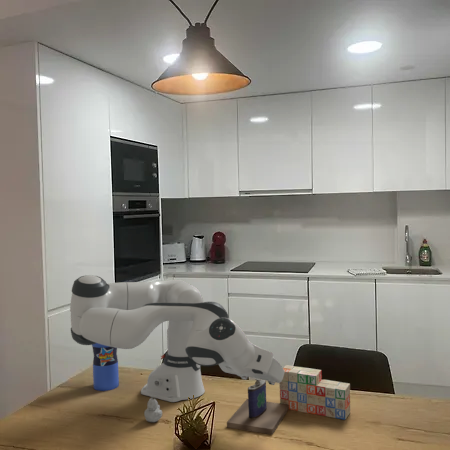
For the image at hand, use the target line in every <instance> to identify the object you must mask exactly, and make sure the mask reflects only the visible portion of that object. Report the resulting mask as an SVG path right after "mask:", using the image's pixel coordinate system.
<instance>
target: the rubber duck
mask: <svg viewBox="0 0 450 450" xmlns="http://www.w3.org/2000/svg"><path fill="white" fill-rule="evenodd" d="M146 405H147V408H146V409H145V410H144V415H143V416H144V418H145V421H146V422H148V423H156V422H159V420H160V419H161V418H162V417H163V410H162V409H161V405H160V404H159V402H158V401H157V398H154V397H150V398H149V400H148V401H147V404H146Z"/></svg>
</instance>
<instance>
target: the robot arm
mask: <svg viewBox="0 0 450 450" xmlns="http://www.w3.org/2000/svg"><path fill="white" fill-rule="evenodd" d="M71 293H72V294H71V297H70V298H71V299H70V306H69V308H70V309H69V311H70V323H71V324H70V326H71V327H70V335H71V338H72V340H73V341H74V342H75V343H77V344H79V345H83V346H92V345H93V344H96V343H98V344H102V345H105V346H110V347H115V348H117V349H121V350H131V349H135V348H137V347H139V346H140V345H141V344H143V343H144V342H145V341H146V340H147V338H148V337H149V336H150V335H151V333H152V332H153V331H154V330H155V329H156V328H157V327H159V325H161V324H163V323H166V322H168V328H167V330H166V339H167V341H166V342H167V343H166V344H167V351H166V352H164V353H163V354H162V355H161V356H160V357H161V358H160V360H163V362H162V363H160V364H159V365H158V366H157V367H155V369H153V370H152V371H151V372H150V373H149V375H148V377H147V383H146V384H144V386H143V387H142V388H141V390H140V394H141V395H144V396H147V397H150V398H151V397H152V398H153V399H154V398H155V399H159V400H162V401H165V402H169V403H170V402H171V403H175V402H179V401H185V400H191V399H196V398H198V397H201V396H202V395H204V393H205V392H206V391H205V389H206V388H205V386H204V383H203V377H202V372H201V367H213V366H217V365H218V366H219V368H220V369H221V371H223V372H224V373H228V374H232V375H236V376H238V377H240V378H241V380H248V378H251V379H252V378H253V379H260V380H265V381H267V383H268V384H269V385H270V386H275V385H276V383H280V382H281V381H282V379H283V377H284V369H283V366H282V365H281V363H280V362H279V360H278V359H276V358H275V357H274V353H273V351H270V350H268V349H265V348H263V347H260V346H258V345H256V344H254V343H252V342H251V341H250V339H248V337H247V335H246V333H245V332H244V331H243V329H242V328H241V327H240V325H239V324H238V323H236V322H235V321H233V320H232V319H230V317H229V314H228V312H227V311H226V309H225V307H224V306H223V305H222V304H220V303H218V302H215V301H204V298H203V295H202V294H201V293H202V292H201V291H200V290H199V289H198V288H197V287H196V286H194V285H192V284H191V283H189V282H187V281H186V280H183V279H168V280H156V281H155V280H154V281H144V282H143V281H136V282H135V281H128V282H127V281H124V282H121V281H120V282H111V283H107V282H106V280H104V278H102V277H100V276H98V275H92V274H89V275H86V274H85V275H82V276H79V277H78V278H76V279H75V280H74V281H73V284H72V287H71ZM193 395H194V398H193ZM188 397H189V398H190V399H188Z"/></svg>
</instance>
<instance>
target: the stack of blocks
mask: <svg viewBox="0 0 450 450" xmlns="http://www.w3.org/2000/svg"><path fill="white" fill-rule="evenodd" d="M282 368H283V369H284V377H283V379H282V381H281V382H280V383H279V403H281V404H288V408H289V409H288V410H291V411H297V412H302V413H305V414H312V415H318V416H324V417H328V418H332V419H333V418H334V419H339V420H344V421H346V419H347V418H348V417H349V415H350V414H351V383H348V382H342V381H336V380H330V379H322V378H323V375H322V374H323V373H322V369H318V368H317V369H316V368H309V367H303V366H295V365H287V364H285V366H282Z"/></svg>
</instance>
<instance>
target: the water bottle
mask: <svg viewBox="0 0 450 450" xmlns="http://www.w3.org/2000/svg"><path fill="white" fill-rule="evenodd" d="M91 347H92V353H93V361H92V379H93V389H94V390H95V391H99V392H106V391H107V392H108V391H113V390H115V389H117V388H118V387H119V386H120V381H119V380H120V377H119V373H120V372H119V359H118V355H117V353H118V348H115V347H110V346H105V345H102V344H98V343H96V344H93V345H91Z"/></svg>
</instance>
